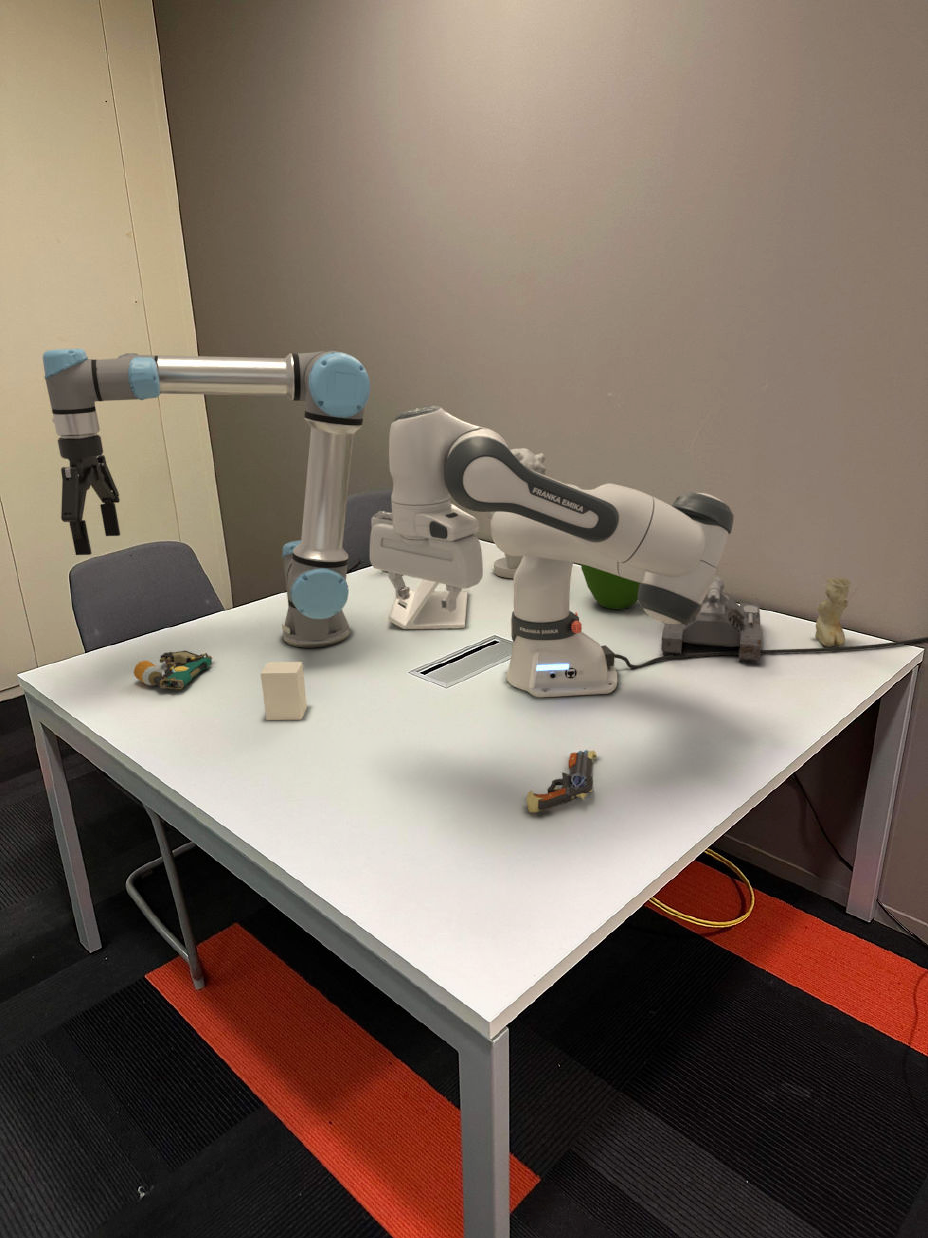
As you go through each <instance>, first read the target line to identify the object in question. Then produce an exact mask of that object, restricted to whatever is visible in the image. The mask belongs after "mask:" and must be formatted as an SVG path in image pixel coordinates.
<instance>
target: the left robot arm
mask: <svg viewBox="0 0 928 1238" xmlns="http://www.w3.org/2000/svg"><path fill="white" fill-rule="evenodd" d="M42 363H43V371H44V380H45V385H46V389H47V394H48V398H49V402H50V407H51V412H52V420H51V421H52V422H53V424H54V428H55V433H56V435H57V436H58V439H57V446H58V450H59V455H60V458H62V459H64V460H68V461H69V466H62V467H61V468H60V473H61V479H62V482H61V483H62V484H61V511H60V518H61V521H62V522H64V523H69V528H70V533H71V539H72V543H73V547H74V552H75V554H74V555H75V556H90V555H92V547H91V542H90V539H89V538H90V537H89V533H88V527H87V523H86V519H83V518H84V512H85V504H86V499H87V493H88V492H87V491H88V490H90V488H92V490H93V491H94V493H95V494H96V495H97V497H98V498H99V500H100V501H101V502H102V503H101V504H99V507H100V512H101V517H102V522H103V528H104V535H105V537H119V536H121V531H120V525H119V519H118V513H117V508H116V507H117V506H116V504H118V503H120V501H121V499H120V493H119V491H118V488H117V486H116V484H115V481H114V479H113V476H112V474H111V471H110V469H109V467H108V464H107V463H108V462H107V460H106V456H105V454H104V447H103V443H102V436H101V435H99V434H98V433H99V432H100V431H101V429H100V423H99V419H98V413H97V409H96V402H109V401H133V400H136V401H137V400H140V401H144V400H148V399H156V398H159V397H160V395H161V394H163V395H164V394H165V395H213V396H214V395H216V396H217V395H218V396H219V395H221V396H272V397H273V396H275V397H276V396H277V397H279V396H280V397H287V398H288V399H289V400H290V401H292V402H305V404H304V415H303V416H304V417H303V419H304V421H305V422H306V423H307V425H308V426H309V427H310V437H309V449H308V460H307V471H306V481H305V492H304V503H303V504H304V505H303V515H302V516H303V517H302V528H301V539H299V540H293V541H289V542H286V543H285V544H284V545H283V546H282V555H281V558H282V560H283V569H284V578H285V579H284V580H285V588H286V597H287V606H288V607H287V612H286V615H285V621H284V623H282V624H281V628H282V634H283V635H282V637H283V641H284V642H285V643H287V644H288V645H290V646H293V647H297V648H307V649H308V648H312V649H313V648H322V647H323V648H324V647H327V646H332V645H335V644H338V643H340V642H342V641H345V640H346V639H347V638H348V637H349V635H350V625H349V622H348V620H347V618H346V616H345V613H344V610H343V609H344V607H345V606H346V603H347V602H348V600H349V599H348V597H349V591H350V590H349V585H348V582H347V573H348V572H350V571H351V570H353V569H354V568H355V567H357V565H359V563H360V562H362V560H361V558H358V559H357V560H356V561H355V562H354V563H353V564H352V565H351V566H349V567H348V563H349V554H348V552H346V550H345V549H344V547H343V542H344V532H345V524H346V523H345V522H346V513H347V505H348V504H347V502H348V493H349V484H350V483H349V482H350V474H351V466H352V465H351V464H352V456H353V455H352V454H353V446H354V435H355V434H356V432H358V431H359V430H360V429H361V428H362V427H363V422H364V413H365V407H366V405H367V403H368V401H369V398H370V395H371V381H370V376H369V373H368V372H367V370H366V368H365V367H364V365H363V364H362V363H361V362H360V361H359V360H358V359H357V358H356V357H354V356H353V355H351V354H349V353H345V352H341V351H337V350H331V349H329V350H323V351H322V350H321V351H315V352H305V353H299V352H298V353H293V352H292V353H288V354H287V355H286V357H253V356H251V357H250V356H249V357H248V356H247V357H246V356H245V357H244V356H206V355H204V356H203V355H169V354H168V355H167V354H166V355H165V354H163V355H162V354H158V355H155V354H138V353H133V352H131V353H124V354H121V355H119V356H118V357H117V358H105V359H97V358H96V359H93V358H89V357H88V356H87V353H86V351H85V350H84V349H83V348H60V349H48V350H45V352H43V354H42Z"/></svg>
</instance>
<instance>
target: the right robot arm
mask: <svg viewBox="0 0 928 1238" xmlns="http://www.w3.org/2000/svg"><path fill="white" fill-rule="evenodd" d="M388 438H389V439H388V461H389V462H388V463H389V473H390V476H391V479H392V492H391V501H390V502H391V512H387V511H385V510H378V511H377V512H376V513H374V514H373V516H372V517H371V521H370V523H371V531H370V536H369V562H370V564H371V566H372V568H373V569H375V570H380V571H385V572H388V579H389V581H390V583H391V584H392V586H393V588H394V589H395V598H397V599H401V600H406V599H408V598H409V597H410V593H409V592H410V590H411V589H410V587H409V586H406V582H405V581H404V578H403V577H404V576H406V577H410V578H415V579H420V580H423V579H424V580H428V581H433V582H437V583H439V584H442V585H445V591H449V594H448V596H447V598H446V599H443V600H441V602H442V610H445V611H449V612H452V611H454V610H455V609H456V599H457V597H458V595H459V593H460V592H461V591H463V589H464V590H466V589H470V588H473V587H475V586H477V585H478V584H479V583H480V582H481V581H482V579H483V574H484V573H483V571H484V569H483V567H484V565H483V554H482V553H483V551H482V545H481V541H480V539H479V538H478V537H477V535H475V533H478V532H479V529H480V522H479V520H478V519H477V518H476V517H475V516H473V515H472V514H469V513H468V512H466V511H464V510H462V509H461V508H459V507H457V506H456V505H455V504H453V503H452V501H451V499H453V500H454V501H455V502H456V504H458V505H459V506H461V507H463V508H464V509H467V510H469V511H473V512H479V513H486V512H495V513H494V515H493V517H492V520H490V527H489V528H490V529H489V530H490V536H491V538H492V541H493V543H494V545H495V546H496V547H497V549H499V550H500V551H501V552H502V553H504V555H505V554H507V555H511V556H523V558H522V560H521V563H520V565H519V566H518V568H517V570H516V572H515V575H514V578H513V611H512V612H511V618H510V635H511V640H512V645H511V646H512V647H511V655H510V660H509V665H508V669H507V672H506V675H505V678H506V681H507V683H509V684H510V685H511V686H513V687H515V688H517V689H519V690H522V691H525V692H527V693H529V694H530V695H531V696H533V697H535V698H556V697H572V696H573V697H574V696H588V695H589V696H590V695H591V696H592V695H607V694H611V693H612V692H613V691H615V690H616V688H617V686H618V673H617V670H616V668H615V667H614V666H615V659H619V660H622V661H624V663H625V664H626V666H627V667H628V668H629V669H633V670H636V669H641V668H645V667H648V666H650V665H652V664H654V663H657V662H660V661H665V660H672V659H673V660H674V659H683V658H684V659H685V658H696V657H709V656H710V657H711V656H712V657H713V656H729V655H730V656H731V655H739V650H726V651H725V650H724V651H723V650H722V651H710V652H709V651H708V652H695V653H693V652H692V653H681V654H680V655H663V656H658V657H655V658H653V659H650V660H648V661H646V662H644V663H642V664H632V663H631V662H630V660H629V658H627V657H626V656H624V655H622V654H617V653H615V652H614V651H613V650H612V649H610V647H608V646H607V645H601V644H600V643H599V642H598V641H596V640H595V639H593V638H591V637H590V636H589V635H587V634H586V633H585V632H583V631H582V630H583V626H582V625H583V624H582V622H581V621H580V616H579V615H578V612H577V611H575V613H574V612H573V611H571V610H570V600H571V599H570V597H571V595H570V594H571V579H572V577H571V576H572V571H573V565H574V564H580V565H581V564H583V565H587V566H591V567H594V568H597V569H600V570H603V571H606V572H609V573H611V574H614V575H617V576H620V577H623V578H626V579H629V580H632V581H636V582H640V585H639V591H638V600H637V602H638V604H639V607H640V609H642V610H644V612H645V613H646V614H647V615H648V616H650V617H651V619H653V620H656V621H658V622H660V623H663V624H665V623H667V624H686V623H689V622H692V621H693V619H694V618H695V617H696V616H697V614H698V613H699V611H700V609H701V608H702V606H701V603H702V602H703V600H704V598H705V597H706V595H707V593H708V591H709V589H710V587H711V585H712V583H713V581H714V579H715V577H716V576H717V574H718V572H719V570H718V569H719V566H720V564H721V561H722V558H723V555H724V552H725V548H726V545H727V542H728V537H729V535H730V534H732V530H733V526H734V518H735V517H734V513H733V511H732V510H731V508H730V506H729V505H728V504H727V503H725V502H723V501H722V500H721V499H719V498H718V497H716V496H715V495H712V494H709V493H705V492H692V491H691V492H689V491H688V492H685V493H684V494H681V495H679V496H677V498H676V499H675V500H674V501H673V503H672V504H671V505H670V504H668V503H667V502H665V501H663V500H661V499H659V498H656V497H654V496H653V495H650V494H648V493H645V492H644V491H640V490H638V489H635V488H631V487H628V486H625V485H621V484H616V483H611V482H610V483H609V482H608V483H605V484H601V485H599V486H597V487H596V488H593V489H583V488H581V487H579V486H577V485H574V484H571V483H564V482H562V481H559V480H557V479H554V478H552V477H550V476H547V475H546V474H545V475H542V474H540V473H537V472H535V471H532V470H530V469H528V468H527V467H525V466H524V465H523V464H522V463H521V462H520V461H519V460H518V459H517V458H516V457H515V456H514V455H513V454H512V452H511V451H510V450H511V449H510V447H509V446H508V444H507V441H505V439H504V438H503V437H502V436H501V435H500V434H499V433H498V432H496V431H494V430H492V429H490V428H488V427H484V426H479V425H475V424H472V423H469V422H467V421H464V420H462V419H460V418H458V417H456V416H453V415H452V414H451V413H448V412H447V411H446V410H445V409H443V408H442V407H441V406H438V405H426V406H420V407H414V408H411V409H407V410H406V411H402V412H401V413H400V414H397V416H396V417H395V418H394V420H393V421H392V422H391V425H390V428H389V436H388ZM927 641H928V636H925V637H919V638H914V639H913V638H912V639H907V640H901V641H899V640H898V641H893V642H884V643H876V644H875V643H874V644H865V645H864V644H863V645H853V646H852V645H851V646H838V647H837V646H833V647H815V648H814V647H812V648H788V649H787V648H783V649H761V652H760V654H788V653H790V654H791V653H792V654H793V653H820V652H822V653H823V652H841V651H855V650H866V649H867V650H868V649H869V650H870V649H878V648H886V647H896V646H901V645H902V646H903V645H908V644H915V643H922V642H927Z"/></svg>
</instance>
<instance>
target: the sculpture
mask: <svg viewBox="0 0 928 1238" xmlns="http://www.w3.org/2000/svg"><path fill="white" fill-rule="evenodd" d="M826 581H827V586H826V588H825V590H824V593H825V595H826V596H827V598H826V600H824V601H822V602H821V603H820V604H819V605H818V606H817V609H816V610H817V612H818V614H819V616H818V617H817V619H816V623H815V630H816V631H815V634H814V635H815V639H817V640H819V642H820V643H821V644H822V645H823V646H825V648H833V647H843V646H844V645H845V643H846V642H845V641H846V636H845V632H844V630H843V626H842V624H841V622H840V621H841V617H842V615H843V612H844V610H845V609H846V608H847V606H848V604H849V603H848V602H849V601H847V598H848V597H849V592H850V586H851V585H852V582H850V580H848V579H847V578H845V577H841V576H840V577H835V578H831V577H827V578H826Z"/></svg>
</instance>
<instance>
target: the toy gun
mask: <svg viewBox="0 0 928 1238" xmlns="http://www.w3.org/2000/svg"><path fill="white" fill-rule="evenodd" d="M594 759H597V753H596V751H595V750H588V749H585V750H584V751H582V750H579V751H577V752H571V753H570V754H569V758H568V764H567V765H568V768H569V769H570V773H567V772H564V771H562V772H561V775H562V776H561V777H562V778H555V779H552V781H551V784H550V785H549V787H548V788H547V793H534V791H533V790H529V791H528V792H527V795H526V803H527V810H528V812H529V813H538V812H540V811H541V812H542V811H545V810H549V809H552V808H555V807H557V806H560V805H563V804H568V803H570V802H573V801H575V800H576V799H581V800H582V801H583V800H585V799H586V797H587V796H588V794H589V793H593V786H594V785H593V784H594V780H593V776H592V769H593V763H594ZM557 786H561V787H560V788H557Z"/></svg>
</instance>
